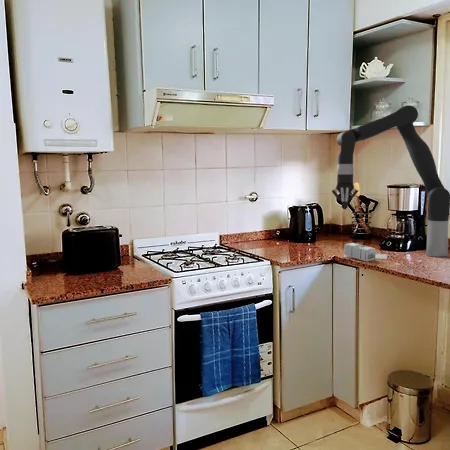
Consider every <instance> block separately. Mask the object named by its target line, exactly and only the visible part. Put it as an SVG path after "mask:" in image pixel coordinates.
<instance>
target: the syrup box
mask: <svg viewBox="0 0 450 450" xmlns="http://www.w3.org/2000/svg"><path fill="white" fill-rule="evenodd" d="M343 249H344V250H343V252H344V253H343V254H344V255H346V256H349V257H353V258H352V259H356V260H360V261H364V262H371V261H375V260H376V259H375V255H376V254H377V253H376V252H377V251H376V248H374V247H371V246H367V245H363V244H360V243H356V242H349V243H345V244H344V247H343ZM344 255H343V256H344Z"/></svg>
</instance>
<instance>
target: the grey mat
mask: <svg viewBox="0 0 450 450" xmlns="http://www.w3.org/2000/svg"><path fill="white" fill-rule="evenodd" d="M342 257H343V258H345V259H354V258H353V257H349V256H346V255H343V256H342ZM382 259H384V260H386V261H387V260H388V254H384V253H383V254H382V253H376V255H375V260H382Z"/></svg>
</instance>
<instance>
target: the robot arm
mask: <svg viewBox="0 0 450 450" xmlns="http://www.w3.org/2000/svg"><path fill="white" fill-rule="evenodd" d="M418 117H419V111H418V109H417V108H416V107H415V106H413V105H411V104H409V105H404V106H401V107H400V108H399V109H398V110H396V111H395V112H392V113H391V114H388V115H386V116H383V117H380V118H378V119H375V120H372V121H370V122H367V123H364V124H361V125H359V126H357V127H356V128H351V129H349V130H345V131H343V132H340V133H339V134H338V135H337V137H336V143H337V145H338V146H339V147H340V150H339V151H340V152H339V153H338V157H337V170H336V176H337V177H336V178H337V179H336V180H337V181H336V186H335V188H334V189H332V190H331V193H332V194H333V195H334V197H335V198H336V199H337V200H338V201H340V202H341V209H342V210H347V209H348V207H349V202H350V201H352V200H353V199H354V198H355V196H356V195H358V192H359V190H358V189H356V188H355V185H354V152H355V147H356V143H358V142H361V141H365V140H368V139H370V138H372V137H375V136H378V135H380V134H381V133H384V132H386V131H388V130H390V129H393V128H397V130H398V133H399V134H400V136H401V137H402V140H403V141H404V145H405V146H406V149H407V151H408V154H409V157H410V158H411V162H412V163H413V166H414V168H415V169H416V172H417V174H418V175H419V177H420V178H421V181H422V182H423V185H424V188H425V191H426V194H427V199H428V213H427V229H426V230H427V231H426V233H427V234H426V249H425V250H426V253H425V254H426V256H429V257H439V258H441V257H448V255H449V253H448V252H449V236H448V235H449V220H450V219H449V217H450V192H449V190H448V189H447V188H445V185H443V183H442V180H441V179H440V177H439V174H438V170H437V166H436V162H435V159H434V156H433V154H432V151H431V149H430V147H429V146H428V144H427V143H426V141H424V139H422V138H421V136H420V135H419V134H418V132H417V130H416V128H415V126H414V123H415V122H416V120H417V119H418ZM338 193H339V194H338ZM351 193H352V194H351ZM350 194H351V196H350V197H349V195H350Z"/></svg>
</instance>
